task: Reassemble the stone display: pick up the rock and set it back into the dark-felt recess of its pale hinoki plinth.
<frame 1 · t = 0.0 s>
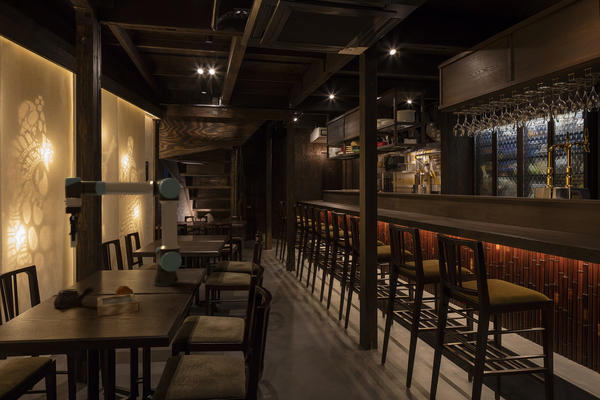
hand: (74, 246, 219), 28 cm above the table, fingers open, 13 cm apart
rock: (124, 300, 215), on the table
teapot: (73, 306, 204), on the table
plinth: (117, 308, 199), on the table
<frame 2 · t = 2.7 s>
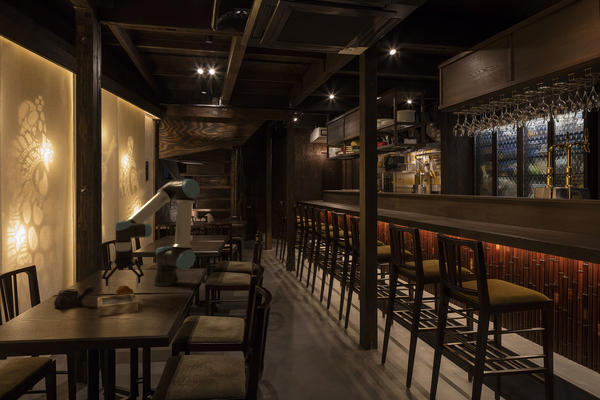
hand: (123, 291, 215), 5 cm above the table, fingers open, 13 cm apart
nothing on the table moved.
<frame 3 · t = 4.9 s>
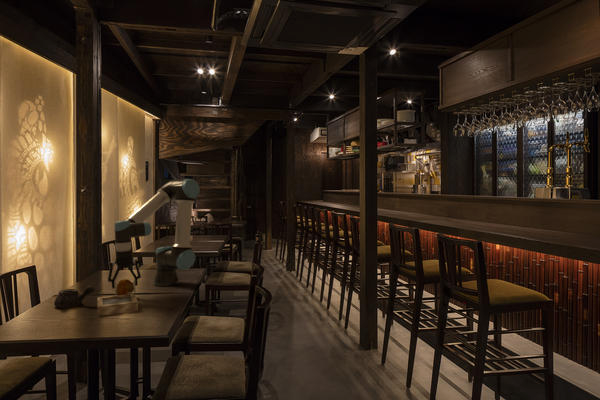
hand: (125, 293, 216), 3 cm above the table, fingers closed on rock, 8 cm apart
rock: (125, 294, 216), point 3 cm above the table, touching gripper
everything else where it was.
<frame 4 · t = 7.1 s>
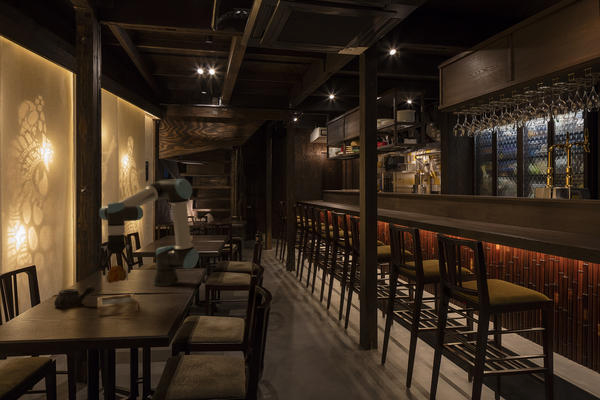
hand: (116, 280, 199), 13 cm above the table, fingers closed on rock, 8 cm apart
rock: (117, 281, 199), point 13 cm above the table, touching gripper
everything else where it was.
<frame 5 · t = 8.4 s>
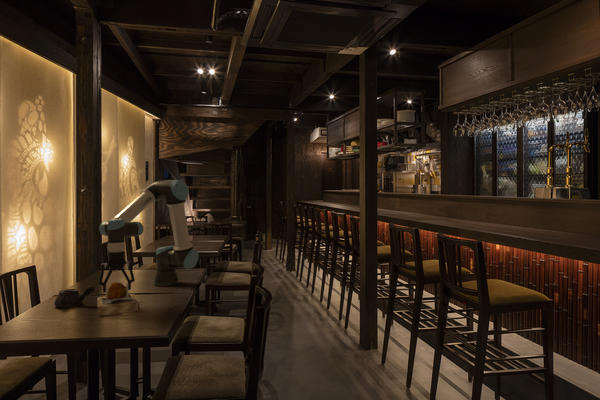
hand: (117, 297, 199), 5 cm above the table, fingers closed on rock, 8 cm apart
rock: (117, 298, 200), point 5 cm above the table, touching gripper
everything else where it was.
when the fingers open (5 cm above the table, at t = 9.3 s): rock drops 1 cm, resting on plinth.
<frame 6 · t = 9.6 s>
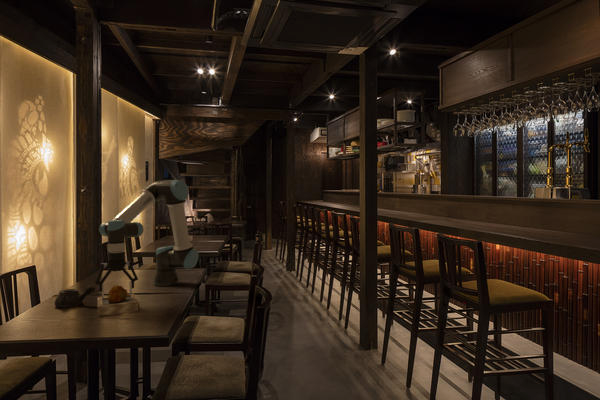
hand: (117, 296, 199), 6 cm above the table, fingers open, 11 cm apart
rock: (117, 301, 200), point 3 cm above the table, touching plinth
everything else where it was.
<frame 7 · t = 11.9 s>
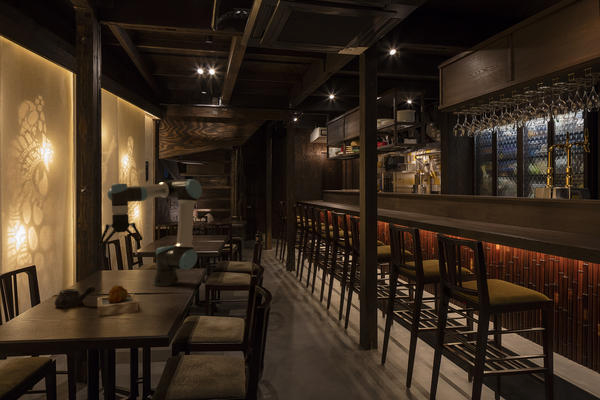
hand: (121, 255, 209), 24 cm above the table, fingers open, 13 cm apart
nothing on the table moved.
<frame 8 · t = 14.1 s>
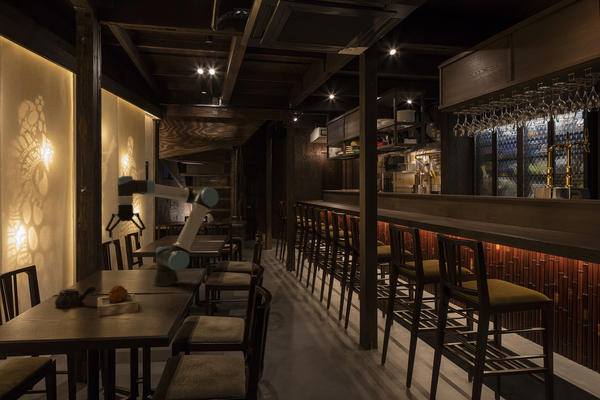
hand: (126, 243, 224), 29 cm above the table, fingers open, 13 cm apart
nothing on the table moved.
at the end: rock inside the target area on the plinth (1.1 cm from its centre), point 3.0 cm above the plinth's base; the gripper is holding nothing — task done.
